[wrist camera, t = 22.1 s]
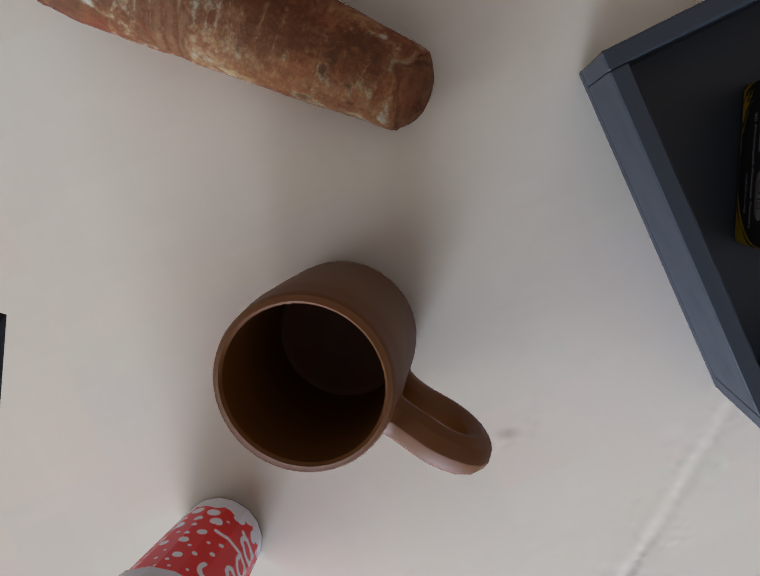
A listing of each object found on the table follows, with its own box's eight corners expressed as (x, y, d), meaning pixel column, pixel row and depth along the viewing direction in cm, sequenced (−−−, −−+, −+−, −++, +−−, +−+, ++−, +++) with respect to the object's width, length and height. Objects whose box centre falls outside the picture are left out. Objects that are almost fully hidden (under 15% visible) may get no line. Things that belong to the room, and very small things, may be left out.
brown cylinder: (104, -115, 35) (35, -167, 29) (455, 54, 34) (450, 32, 28) (61, 9, 36) (-13, -19, 31) (397, 174, 35) (382, 176, 30)
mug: (522, 339, 36) (538, 399, 27) (454, 464, 37) (446, 561, 28) (310, 232, 36) (253, 255, 27) (251, 360, 38) (179, 422, 29)
